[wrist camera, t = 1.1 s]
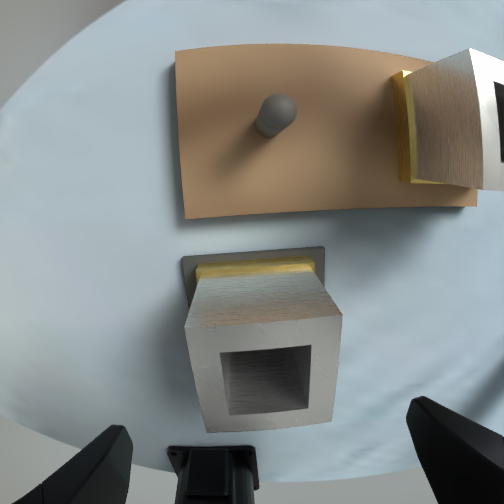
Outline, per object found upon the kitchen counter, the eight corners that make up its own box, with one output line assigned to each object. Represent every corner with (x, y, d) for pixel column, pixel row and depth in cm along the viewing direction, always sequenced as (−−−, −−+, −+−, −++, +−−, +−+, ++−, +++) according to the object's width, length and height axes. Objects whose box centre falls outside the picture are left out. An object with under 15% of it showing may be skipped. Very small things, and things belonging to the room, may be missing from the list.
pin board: (466, 203, 15) (525, 220, 10) (188, 215, 15) (165, 240, 10) (459, 75, 13) (515, 59, 8) (178, 57, 13) (153, 14, 8)
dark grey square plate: (319, 355, 17) (326, 371, 16) (200, 364, 17) (197, 381, 16) (322, 246, 16) (331, 255, 14) (183, 256, 15) (177, 266, 14)
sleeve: (308, 348, 17) (335, 423, 11) (211, 355, 17) (202, 435, 11) (308, 255, 15) (348, 308, 10) (198, 263, 15) (177, 322, 9)
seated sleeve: (474, 183, 14) (552, 199, 8) (398, 181, 14) (479, 195, 8) (468, 91, 13) (543, 78, 7) (391, 75, 12) (464, 42, 7)
